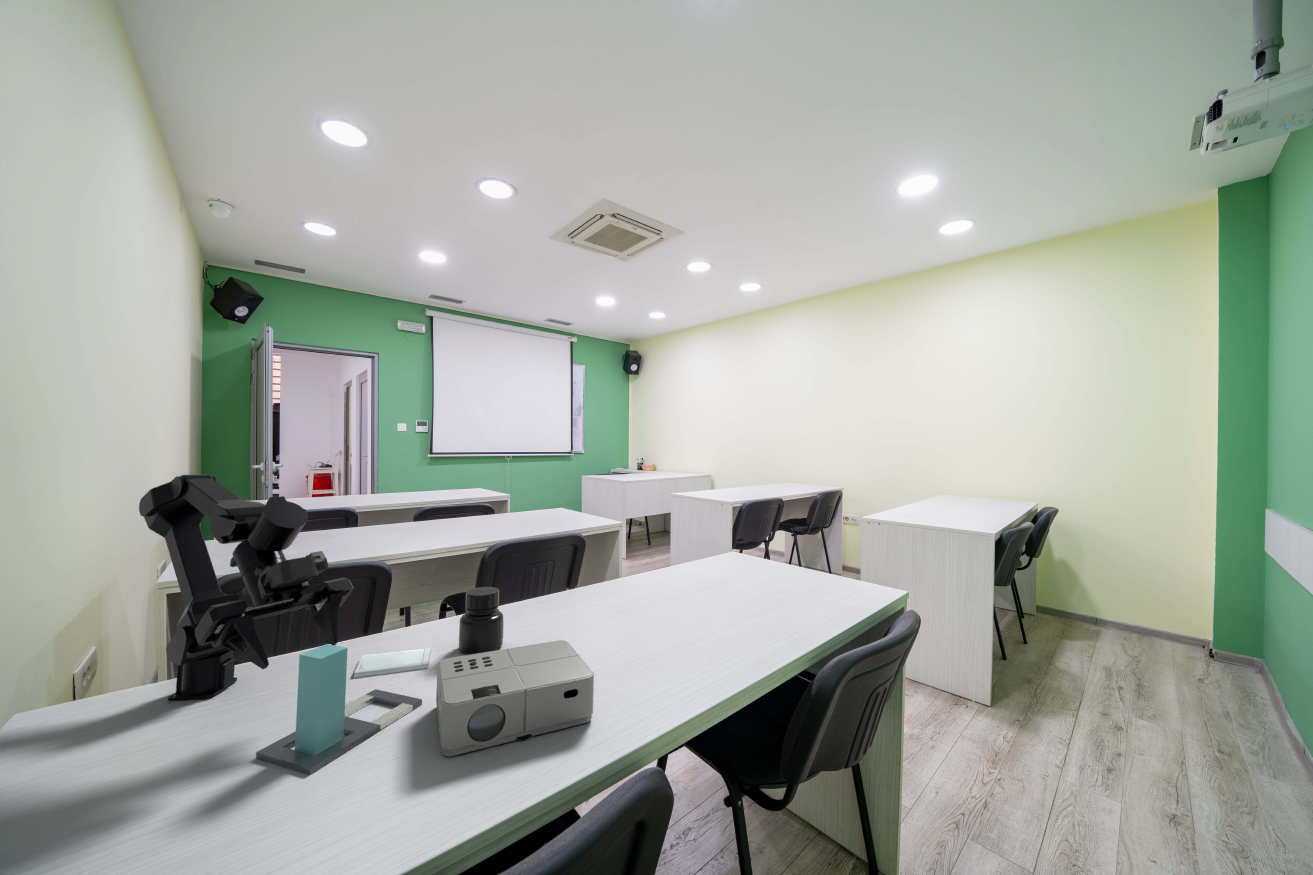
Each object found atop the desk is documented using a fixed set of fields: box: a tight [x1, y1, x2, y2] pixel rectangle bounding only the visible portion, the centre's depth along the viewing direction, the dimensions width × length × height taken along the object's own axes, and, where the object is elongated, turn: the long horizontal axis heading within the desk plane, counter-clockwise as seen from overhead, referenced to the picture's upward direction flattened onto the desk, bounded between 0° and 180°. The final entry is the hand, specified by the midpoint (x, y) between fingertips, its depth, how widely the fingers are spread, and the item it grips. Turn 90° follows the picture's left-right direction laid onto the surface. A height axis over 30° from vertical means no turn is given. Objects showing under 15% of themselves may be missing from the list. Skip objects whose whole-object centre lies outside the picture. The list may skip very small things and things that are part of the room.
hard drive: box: [353, 647, 432, 679], centre depth 93 cm, size 2×8×12 cm
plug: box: [294, 643, 348, 756], centre depth 67 cm, size 4×4×13 cm
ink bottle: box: [458, 586, 504, 655], centre depth 102 cm, size 10×9×12 cm
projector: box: [435, 639, 595, 757], centre depth 76 cm, size 17×22×8 cm
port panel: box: [255, 688, 423, 776], centre depth 71 cm, size 18×10×1 cm, turn 162°
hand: (302, 654), depth 70 cm, fingers open, 9 cm apart
